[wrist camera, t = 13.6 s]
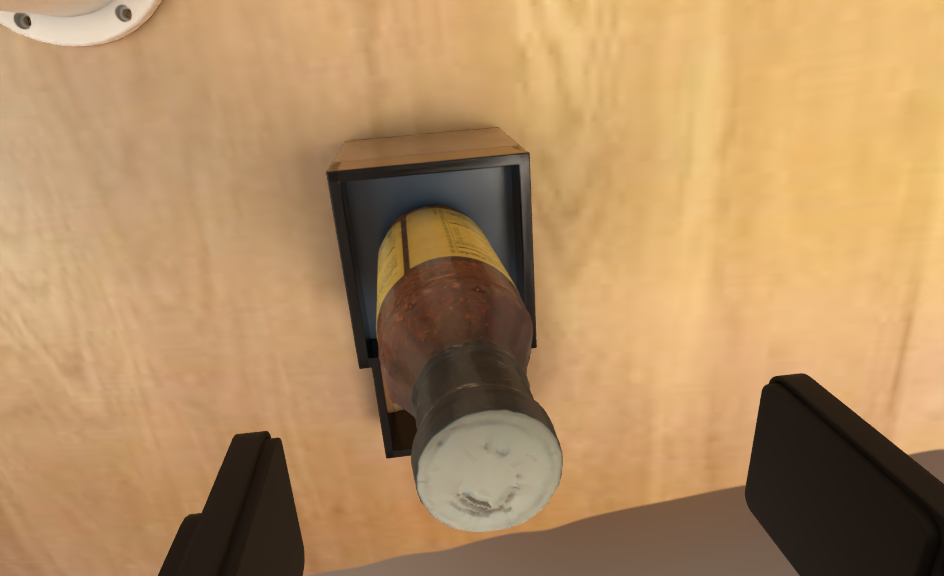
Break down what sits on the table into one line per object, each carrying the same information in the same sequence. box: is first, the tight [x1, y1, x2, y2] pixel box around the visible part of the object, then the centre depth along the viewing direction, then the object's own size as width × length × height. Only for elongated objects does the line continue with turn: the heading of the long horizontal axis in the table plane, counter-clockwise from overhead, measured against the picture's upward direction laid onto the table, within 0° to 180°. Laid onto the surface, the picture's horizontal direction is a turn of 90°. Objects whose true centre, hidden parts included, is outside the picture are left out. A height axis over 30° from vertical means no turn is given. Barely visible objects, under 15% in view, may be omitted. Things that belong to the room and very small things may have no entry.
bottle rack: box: [326, 127, 537, 458], centre depth 38 cm, size 10×22×10 cm, turn 4°
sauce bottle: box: [376, 205, 563, 532], centre depth 25 cm, size 6×6×20 cm
